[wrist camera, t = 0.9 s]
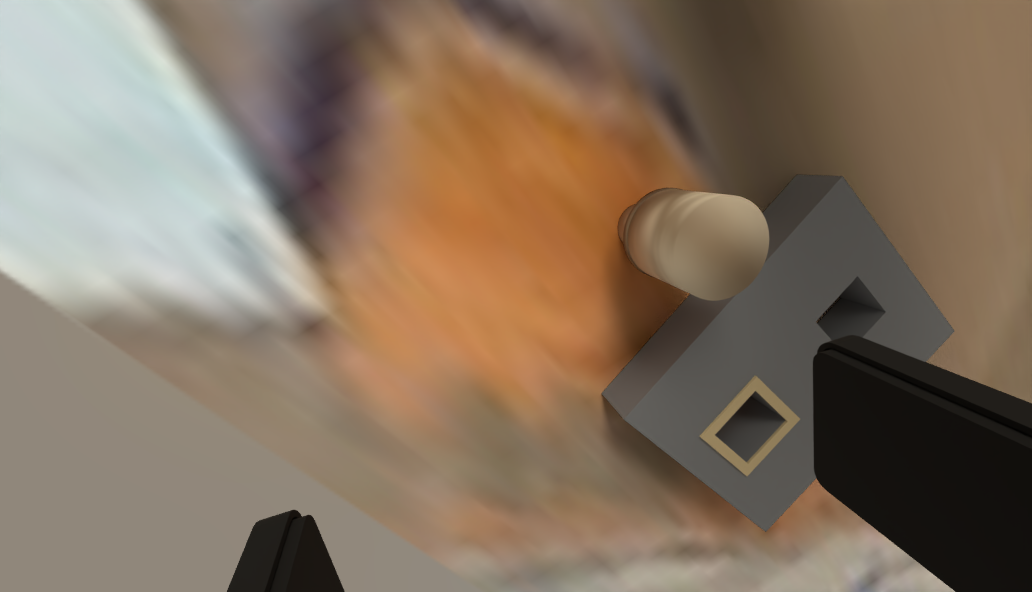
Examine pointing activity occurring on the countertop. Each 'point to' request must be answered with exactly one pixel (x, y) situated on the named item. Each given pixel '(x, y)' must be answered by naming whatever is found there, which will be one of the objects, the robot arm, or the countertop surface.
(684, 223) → the peg
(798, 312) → the seat block
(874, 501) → the robot arm
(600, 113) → the countertop surface
